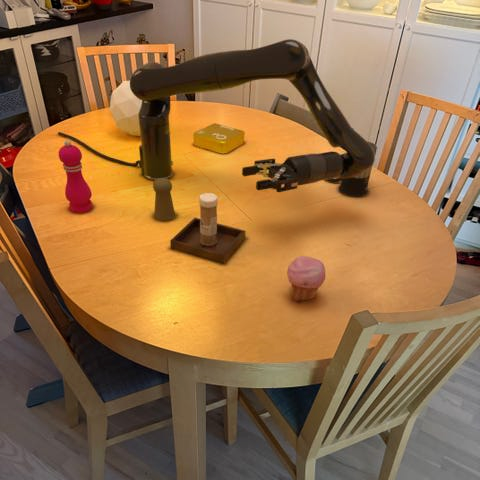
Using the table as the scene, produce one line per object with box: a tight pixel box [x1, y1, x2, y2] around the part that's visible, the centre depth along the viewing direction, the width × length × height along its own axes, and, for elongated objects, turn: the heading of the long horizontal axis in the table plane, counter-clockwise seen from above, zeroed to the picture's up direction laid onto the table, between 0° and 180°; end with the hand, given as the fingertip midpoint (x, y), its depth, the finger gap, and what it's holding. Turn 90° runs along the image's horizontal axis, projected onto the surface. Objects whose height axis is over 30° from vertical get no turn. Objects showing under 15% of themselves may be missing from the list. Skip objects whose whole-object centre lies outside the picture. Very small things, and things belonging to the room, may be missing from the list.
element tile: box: [192, 122, 246, 155], centre depth 177 cm, size 15×15×5 cm
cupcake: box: [286, 255, 326, 302], centre depth 107 cm, size 9×9×10 cm
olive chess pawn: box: [152, 178, 176, 222], centre depth 132 cm, size 6×6×11 cm
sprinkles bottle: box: [198, 192, 218, 246], centre depth 121 cm, size 5×5×14 cm
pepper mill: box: [58, 139, 93, 214], centre depth 131 cm, size 7×7×20 cm
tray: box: [169, 217, 247, 265], centre depth 125 cm, size 16×14×2 cm
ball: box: [109, 80, 142, 137], centre depth 177 cm, size 19×20×20 cm
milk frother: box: [326, 140, 378, 197], centre depth 150 cm, size 14×16×15 cm
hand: (249, 178), depth 119 cm, fingers open, 8 cm apart
